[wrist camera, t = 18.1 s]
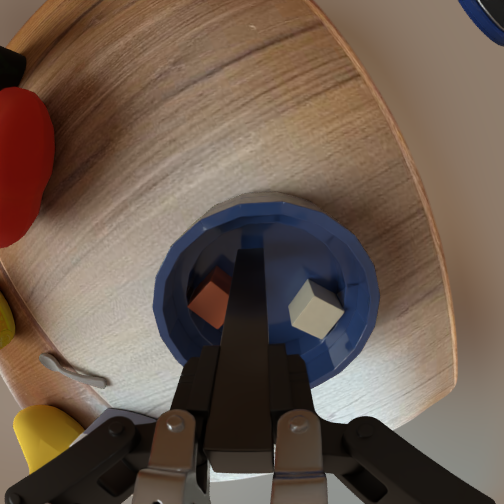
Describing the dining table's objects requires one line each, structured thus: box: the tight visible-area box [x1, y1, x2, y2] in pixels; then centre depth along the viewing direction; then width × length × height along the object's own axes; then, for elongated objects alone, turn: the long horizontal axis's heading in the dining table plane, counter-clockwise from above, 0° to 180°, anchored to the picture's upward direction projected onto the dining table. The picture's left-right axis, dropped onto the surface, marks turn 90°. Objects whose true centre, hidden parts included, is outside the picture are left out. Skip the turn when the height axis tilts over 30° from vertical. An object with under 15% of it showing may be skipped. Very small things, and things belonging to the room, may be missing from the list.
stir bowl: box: [153, 192, 380, 389], centre depth 22 cm, size 17×17×6 cm
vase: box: [13, 405, 85, 475], centre depth 27 cm, size 18×18×19 cm
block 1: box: [187, 266, 232, 329], centre depth 22 cm, size 3×3×3 cm
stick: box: [203, 248, 274, 473], centre depth 14 cm, size 2×2×16 cm
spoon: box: [39, 353, 107, 389], centre depth 29 cm, size 3×12×2 cm, turn 78°
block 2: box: [288, 279, 345, 339], centre depth 23 cm, size 3×3×3 cm
